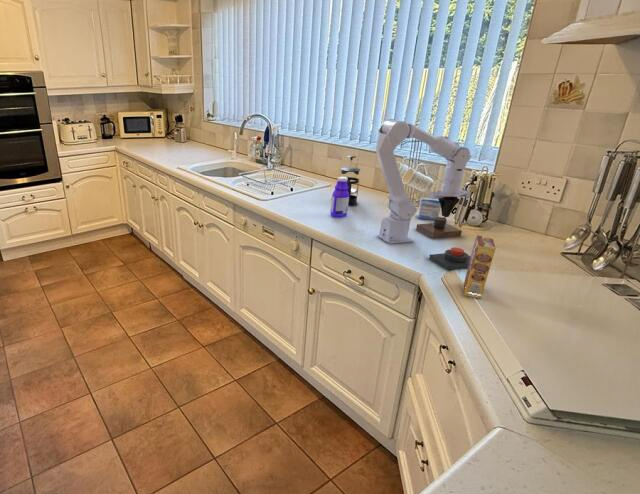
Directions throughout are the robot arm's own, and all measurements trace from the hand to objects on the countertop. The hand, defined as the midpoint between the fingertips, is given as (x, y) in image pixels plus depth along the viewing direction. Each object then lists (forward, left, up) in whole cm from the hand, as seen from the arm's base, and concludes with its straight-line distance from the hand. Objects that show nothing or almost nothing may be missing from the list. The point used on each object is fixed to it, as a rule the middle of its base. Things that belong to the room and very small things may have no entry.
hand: (445, 216), depth 145 cm
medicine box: (+10, +22, -9) cm, 26 cm away
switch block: (-11, -20, -9) cm, 25 cm away
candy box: (-19, -37, -9) cm, 43 cm away
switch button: (-11, -20, -6) cm, 24 cm away
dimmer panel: (+2, +5, -9) cm, 10 cm away
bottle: (-26, +33, -9) cm, 42 cm away
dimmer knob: (+2, +5, -6) cm, 8 cm away
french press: (-13, +51, -9) cm, 53 cm away
